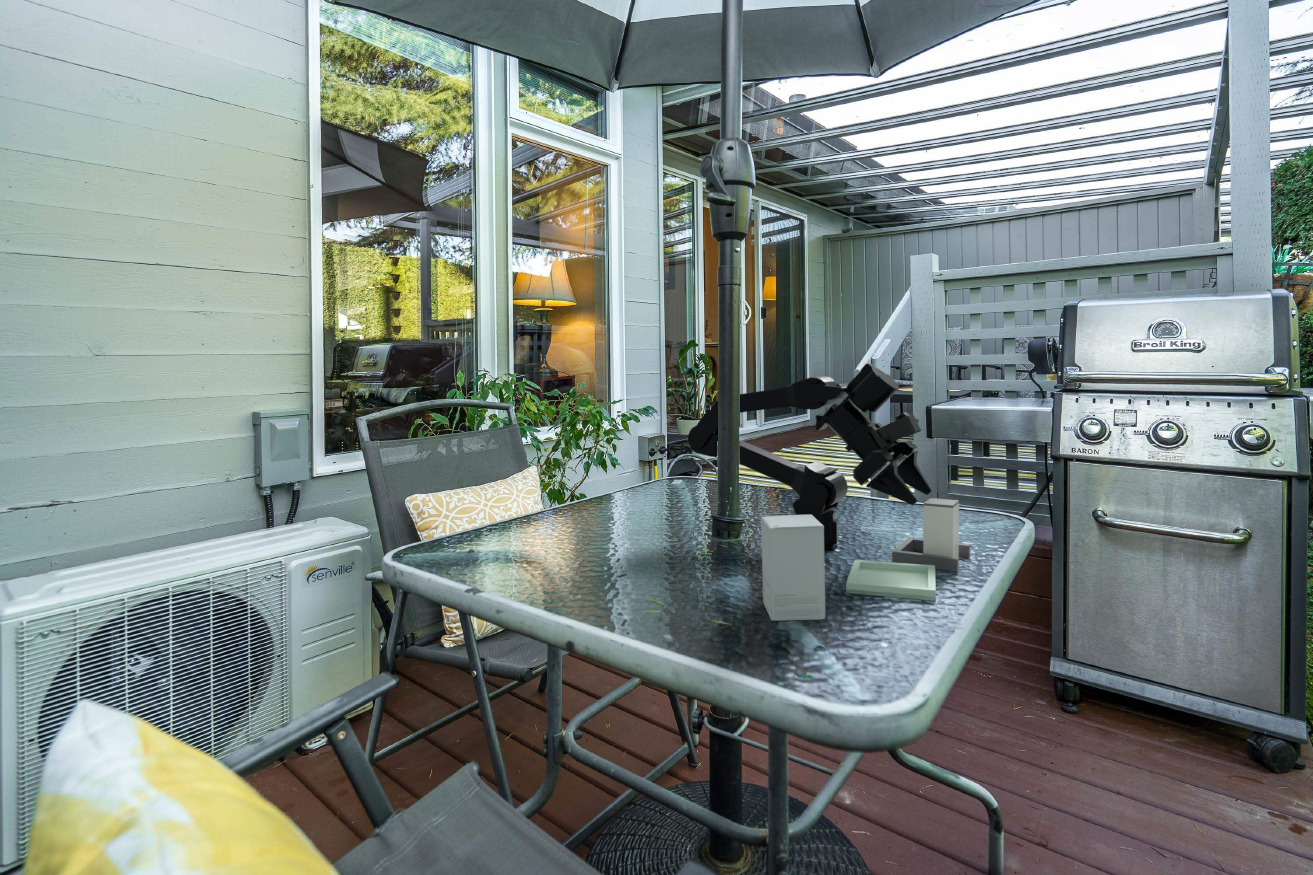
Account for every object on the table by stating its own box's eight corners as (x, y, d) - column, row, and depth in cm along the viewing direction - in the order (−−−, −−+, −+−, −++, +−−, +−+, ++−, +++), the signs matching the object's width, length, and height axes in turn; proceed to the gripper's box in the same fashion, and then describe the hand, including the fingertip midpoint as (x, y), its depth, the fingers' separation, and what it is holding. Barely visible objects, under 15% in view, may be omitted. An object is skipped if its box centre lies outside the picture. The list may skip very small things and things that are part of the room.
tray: (846, 592, 96) (846, 582, 96) (854, 568, 107) (854, 559, 107) (935, 600, 91) (935, 590, 91) (934, 574, 102) (935, 565, 102)
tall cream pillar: (923, 562, 109) (923, 503, 108) (930, 555, 113) (930, 498, 112) (952, 566, 106) (952, 505, 105) (958, 559, 110) (959, 500, 109)
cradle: (892, 563, 109) (892, 551, 109) (908, 548, 117) (908, 537, 117) (957, 571, 103) (957, 559, 103) (970, 555, 111) (970, 544, 111)
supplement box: (826, 620, 86) (825, 525, 85) (770, 621, 87) (767, 527, 85) (814, 600, 94) (813, 513, 92) (762, 602, 94) (760, 515, 93)
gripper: (871, 401, 104) (946, 474, 99) (904, 395, 119) (971, 458, 114) (824, 449, 109) (893, 521, 104) (862, 437, 124) (923, 499, 119)
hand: (922, 497), depth 110 cm, fingers open, 9 cm apart
